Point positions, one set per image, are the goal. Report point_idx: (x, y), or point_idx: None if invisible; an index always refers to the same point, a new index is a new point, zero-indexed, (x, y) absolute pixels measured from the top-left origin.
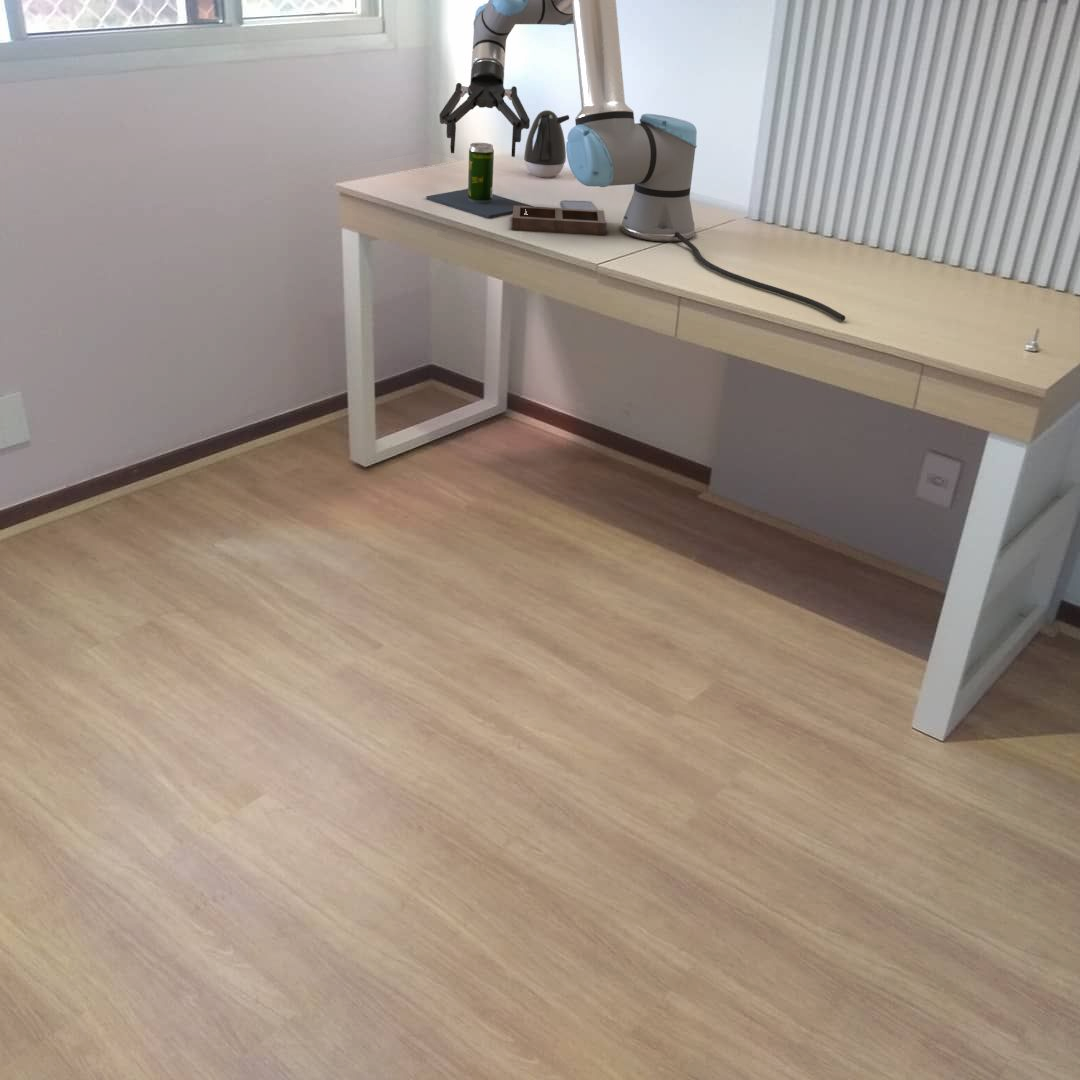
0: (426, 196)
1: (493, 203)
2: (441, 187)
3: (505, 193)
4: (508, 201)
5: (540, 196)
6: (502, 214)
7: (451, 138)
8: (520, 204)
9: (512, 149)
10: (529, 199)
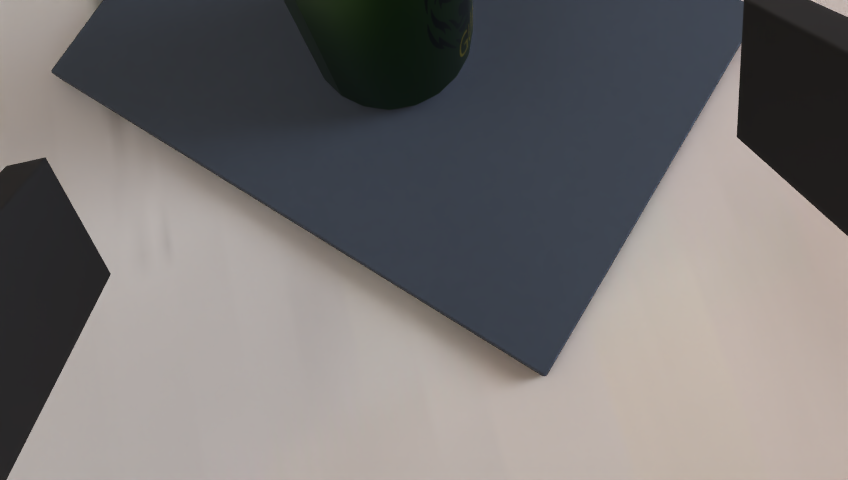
0: None
1: None
2: (785, 378)
3: (298, 403)
4: (219, 112)
5: (53, 423)
6: None
7: (844, 19)
8: (136, 75)
9: (35, 160)
10: (116, 305)
